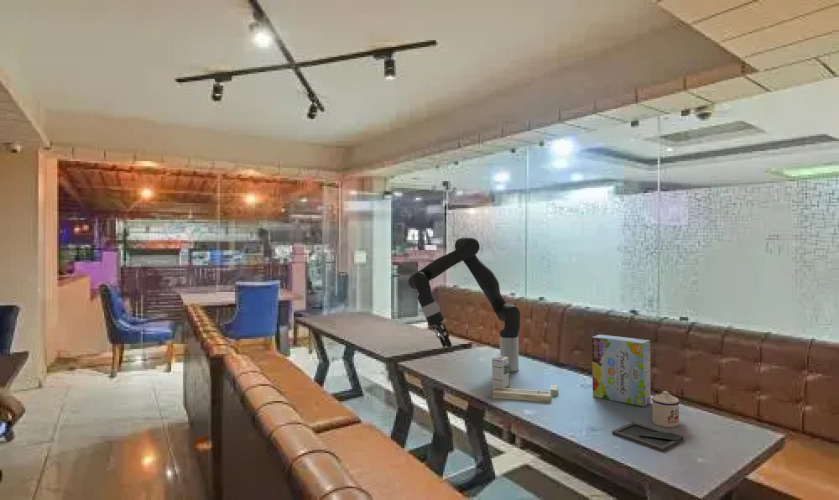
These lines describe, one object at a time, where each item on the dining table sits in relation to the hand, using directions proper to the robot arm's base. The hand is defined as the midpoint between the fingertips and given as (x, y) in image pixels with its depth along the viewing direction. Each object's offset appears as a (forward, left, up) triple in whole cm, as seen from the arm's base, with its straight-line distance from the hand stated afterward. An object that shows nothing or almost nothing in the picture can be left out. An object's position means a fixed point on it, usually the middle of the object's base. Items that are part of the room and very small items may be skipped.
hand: (447, 346), depth 227 cm
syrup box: (-5, +23, -20) cm, 31 cm away
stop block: (-5, +46, -19) cm, 50 cm away
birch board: (+4, +33, -19) cm, 39 cm away
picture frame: (+35, +78, -20) cm, 88 cm away
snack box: (-3, +73, -20) cm, 76 cm away
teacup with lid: (+19, +87, -20) cm, 91 cm away
